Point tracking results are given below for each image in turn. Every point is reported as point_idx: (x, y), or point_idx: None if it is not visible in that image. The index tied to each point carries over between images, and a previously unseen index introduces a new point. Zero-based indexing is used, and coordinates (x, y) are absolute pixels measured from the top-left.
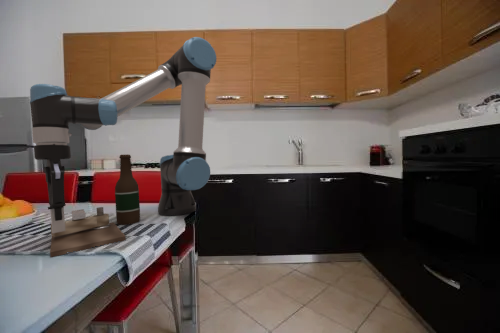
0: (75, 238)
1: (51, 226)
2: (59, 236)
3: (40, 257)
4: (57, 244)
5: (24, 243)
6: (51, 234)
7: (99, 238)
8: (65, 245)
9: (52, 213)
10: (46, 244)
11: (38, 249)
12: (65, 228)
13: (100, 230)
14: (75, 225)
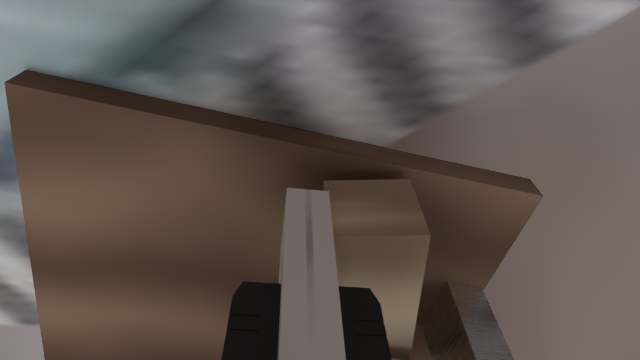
0: (229, 245)
1: (401, 224)
2: None
3: (77, 27)
4: (177, 153)
5: (581, 22)
6: (407, 181)
7: (103, 310)
8: (106, 176)
9: (279, 337)
10: (375, 117)
11: (297, 58)
12: None
13: None
14: None
